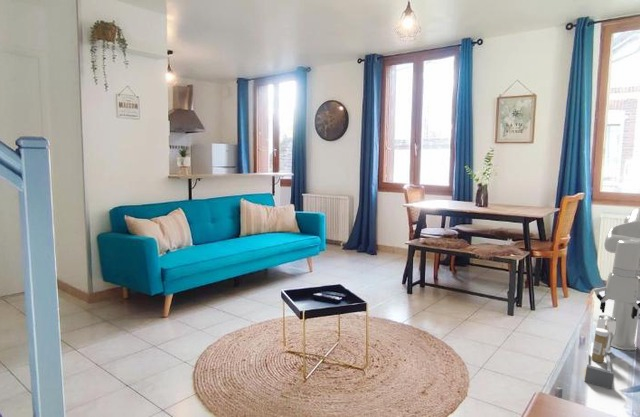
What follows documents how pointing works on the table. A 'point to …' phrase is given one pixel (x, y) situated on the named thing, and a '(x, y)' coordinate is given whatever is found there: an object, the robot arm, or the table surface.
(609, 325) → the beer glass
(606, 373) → the guide channel
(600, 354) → the sprinkles bottle
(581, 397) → the table surface
